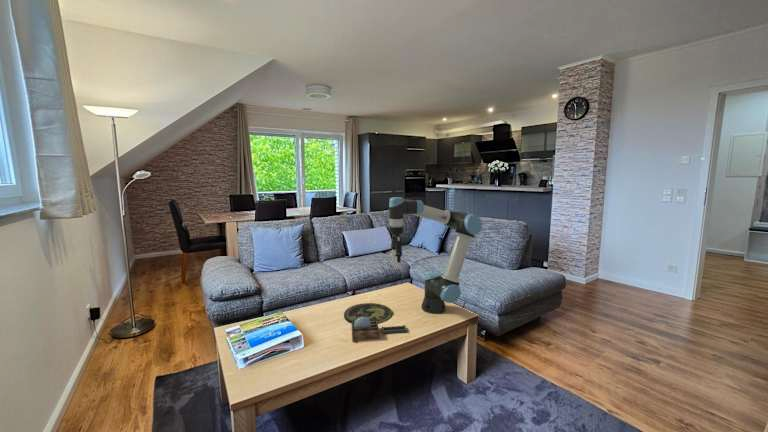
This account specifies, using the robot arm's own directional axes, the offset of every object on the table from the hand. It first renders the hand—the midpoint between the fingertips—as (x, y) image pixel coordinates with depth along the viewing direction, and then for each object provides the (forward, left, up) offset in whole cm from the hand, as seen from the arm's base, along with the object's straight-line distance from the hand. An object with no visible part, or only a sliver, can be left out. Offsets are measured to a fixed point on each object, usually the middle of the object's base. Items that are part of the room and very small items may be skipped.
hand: (396, 264), depth 177 cm
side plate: (+18, +6, -36) cm, 40 cm away
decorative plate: (+14, -19, -37) cm, 44 cm away
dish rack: (+18, +6, -37) cm, 41 cm away
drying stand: (+2, +5, -37) cm, 37 cm away
